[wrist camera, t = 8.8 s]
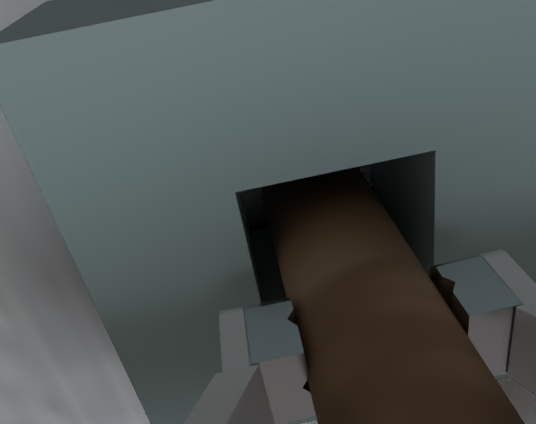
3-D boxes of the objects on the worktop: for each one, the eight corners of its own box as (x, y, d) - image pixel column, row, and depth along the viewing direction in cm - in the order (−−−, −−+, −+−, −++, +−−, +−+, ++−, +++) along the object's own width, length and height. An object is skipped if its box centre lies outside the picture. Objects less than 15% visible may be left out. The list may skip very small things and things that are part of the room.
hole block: (499, -89, 13) (647, -88, 9) (474, 266, 19) (553, 366, 15) (45, 2, 13) (-27, 48, 9) (170, 332, 19) (164, 453, 15)
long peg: (357, 133, 14) (675, 562, 5) (364, 221, 16) (614, 671, 6) (253, 156, 14) (376, 634, 5) (271, 241, 16) (388, 725, 6)
